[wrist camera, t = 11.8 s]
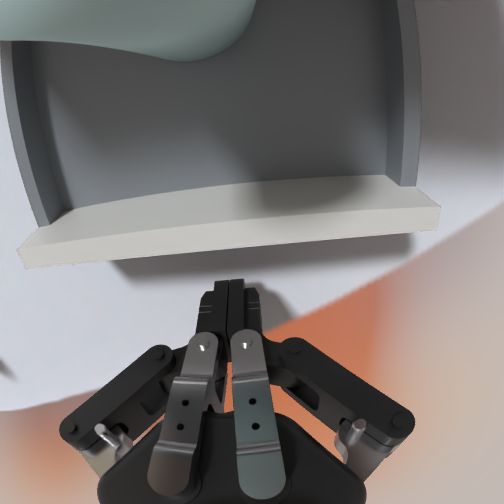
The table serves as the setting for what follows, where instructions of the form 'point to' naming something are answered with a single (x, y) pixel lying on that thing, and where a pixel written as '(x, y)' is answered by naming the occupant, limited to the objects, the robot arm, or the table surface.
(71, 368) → the table surface
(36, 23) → the pale green rounded part
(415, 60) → the drawer
